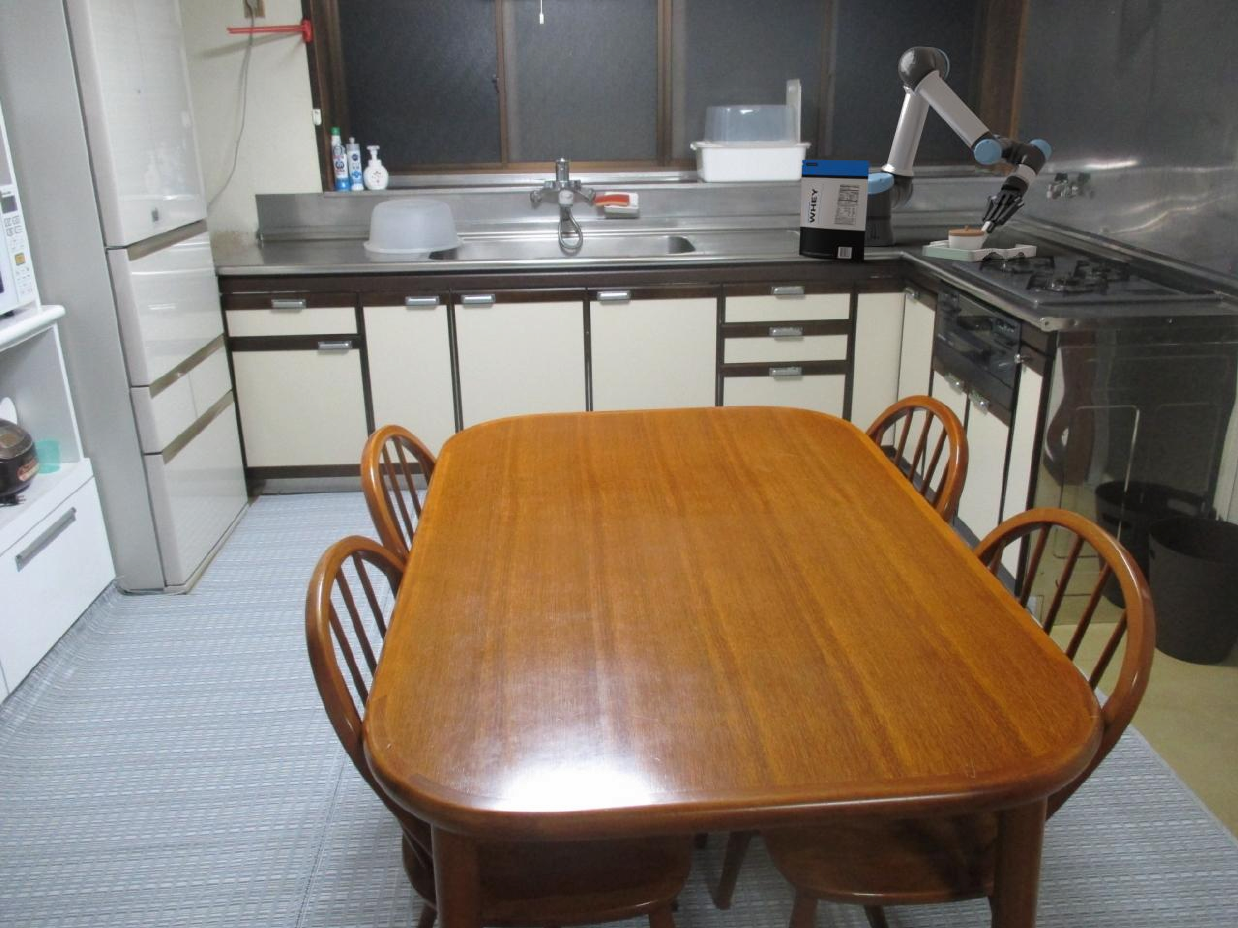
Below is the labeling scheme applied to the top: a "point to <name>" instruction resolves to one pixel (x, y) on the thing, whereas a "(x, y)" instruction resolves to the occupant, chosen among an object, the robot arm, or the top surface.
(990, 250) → the box
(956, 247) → the lidded jar
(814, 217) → the protein powder
